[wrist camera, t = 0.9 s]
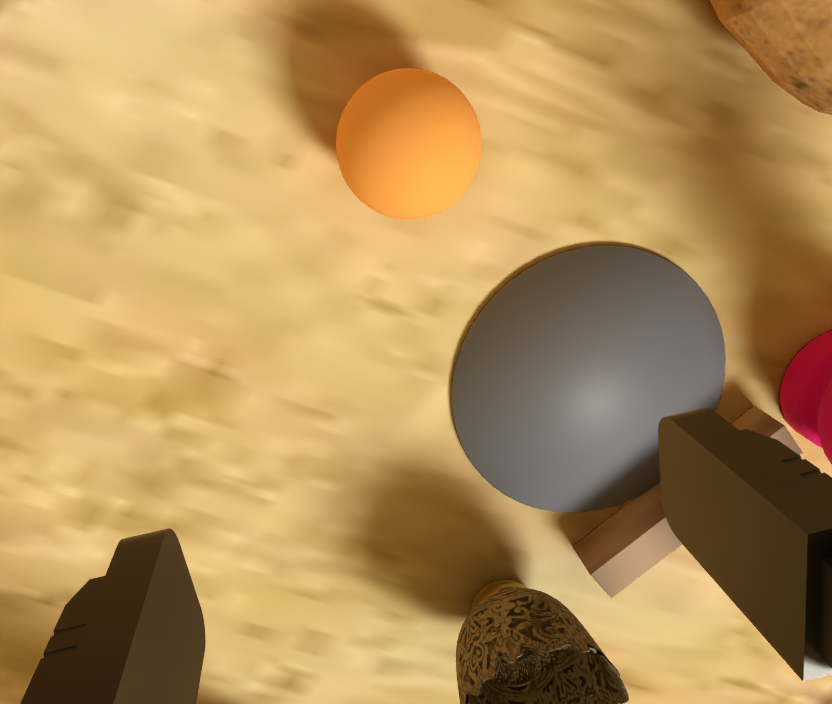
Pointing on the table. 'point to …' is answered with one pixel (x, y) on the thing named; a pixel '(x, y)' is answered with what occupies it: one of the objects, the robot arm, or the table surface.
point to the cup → (530, 652)
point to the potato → (786, 43)
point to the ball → (408, 143)
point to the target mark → (584, 376)
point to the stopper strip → (650, 524)
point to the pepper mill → (810, 393)
